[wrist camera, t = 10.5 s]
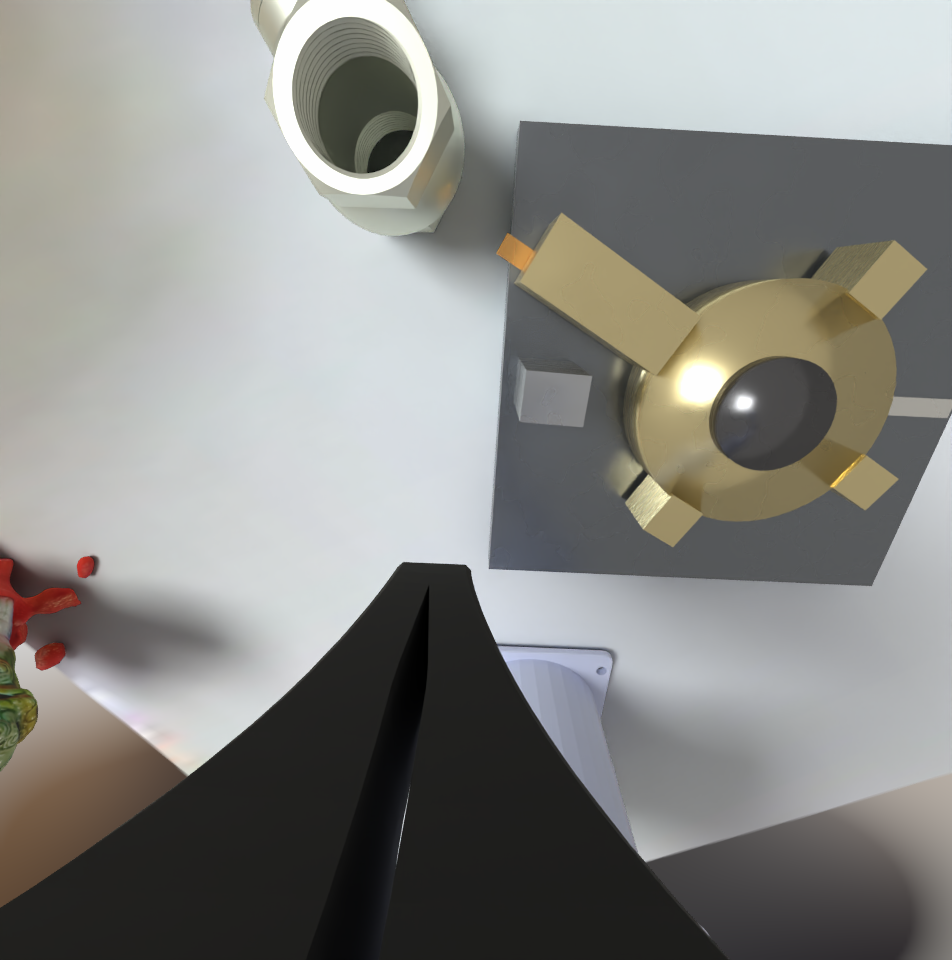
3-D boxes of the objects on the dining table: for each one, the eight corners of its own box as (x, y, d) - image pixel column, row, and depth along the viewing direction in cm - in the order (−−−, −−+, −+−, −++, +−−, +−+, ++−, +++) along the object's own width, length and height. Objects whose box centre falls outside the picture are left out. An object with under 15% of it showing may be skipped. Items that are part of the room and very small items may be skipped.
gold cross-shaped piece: (957, 350, 16) (1042, 360, 13) (735, 570, 19) (772, 610, 17) (636, 77, 13) (672, 27, 11) (447, 394, 16) (441, 412, 14)
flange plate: (854, 572, 21) (934, 633, 17) (477, 555, 21) (477, 613, 17) (1035, 161, 15) (1222, 116, 11) (502, 130, 14) (510, 76, 11)
